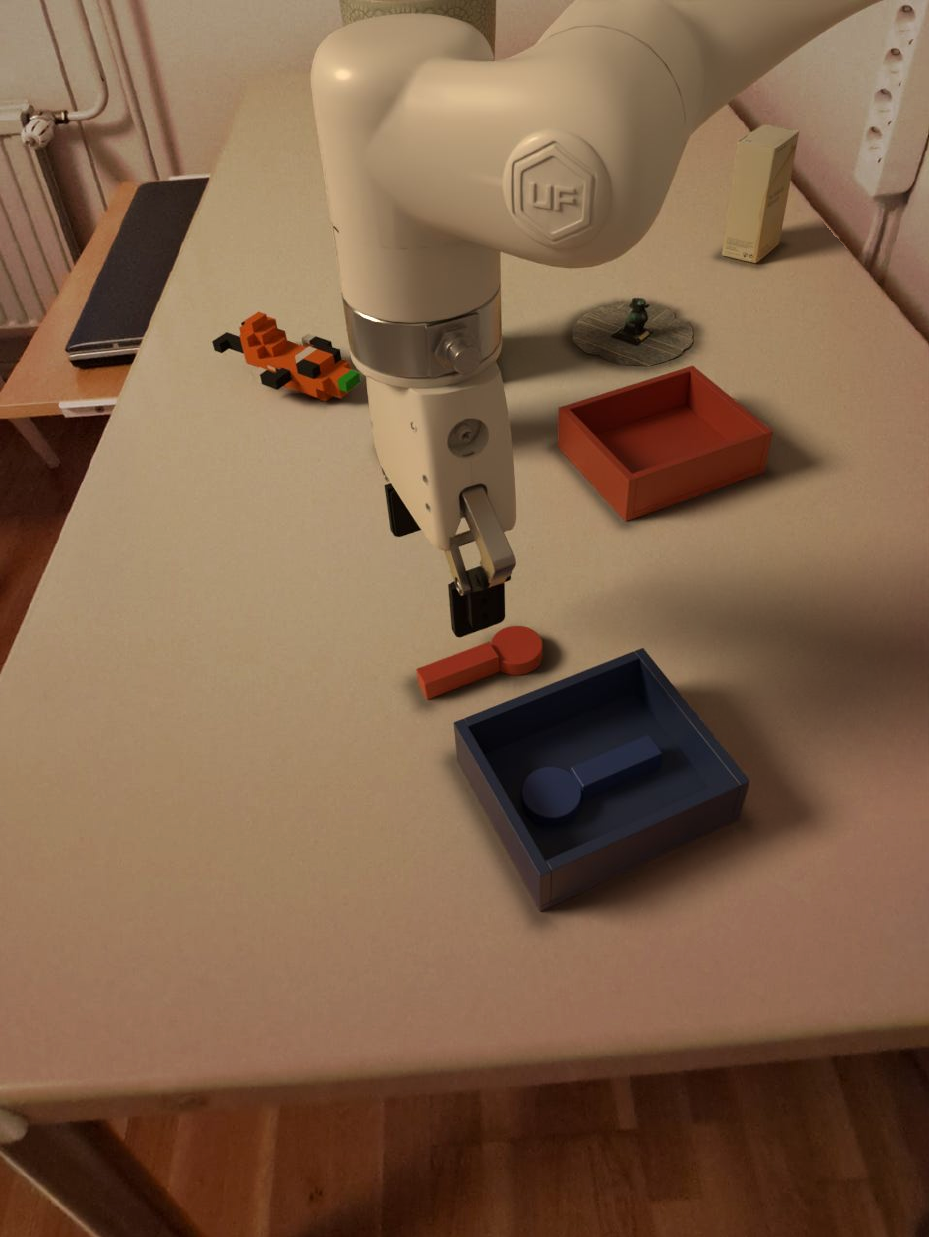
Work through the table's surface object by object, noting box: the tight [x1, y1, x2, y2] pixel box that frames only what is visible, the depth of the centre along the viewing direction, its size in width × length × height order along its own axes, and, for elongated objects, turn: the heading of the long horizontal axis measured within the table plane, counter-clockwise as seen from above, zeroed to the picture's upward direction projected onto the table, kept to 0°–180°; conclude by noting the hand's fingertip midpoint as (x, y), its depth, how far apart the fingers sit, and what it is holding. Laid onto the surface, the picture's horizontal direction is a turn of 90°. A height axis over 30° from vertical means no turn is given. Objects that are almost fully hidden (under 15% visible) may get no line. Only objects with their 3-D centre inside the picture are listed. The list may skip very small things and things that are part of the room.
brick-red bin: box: [557, 365, 774, 522], centre depth 79 cm, size 13×11×4 cm
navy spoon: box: [521, 735, 662, 828], centre depth 57 cm, size 9×4×2 cm, turn 114°
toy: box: [211, 311, 362, 402], centre depth 90 cm, size 8×6×15 cm
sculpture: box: [571, 297, 694, 367], centre depth 95 cm, size 12×9×8 cm
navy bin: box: [453, 647, 751, 912], centre depth 56 cm, size 13×11×4 cm
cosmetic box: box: [721, 123, 800, 264], centre depth 101 cm, size 6×4×12 cm
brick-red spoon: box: [415, 625, 544, 700], centre depth 65 cm, size 9×4×2 cm, turn 114°
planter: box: [338, 0, 497, 61], centre depth 130 cm, size 21×21×19 cm
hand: (445, 575), depth 58 cm, fingers open, 9 cm apart
